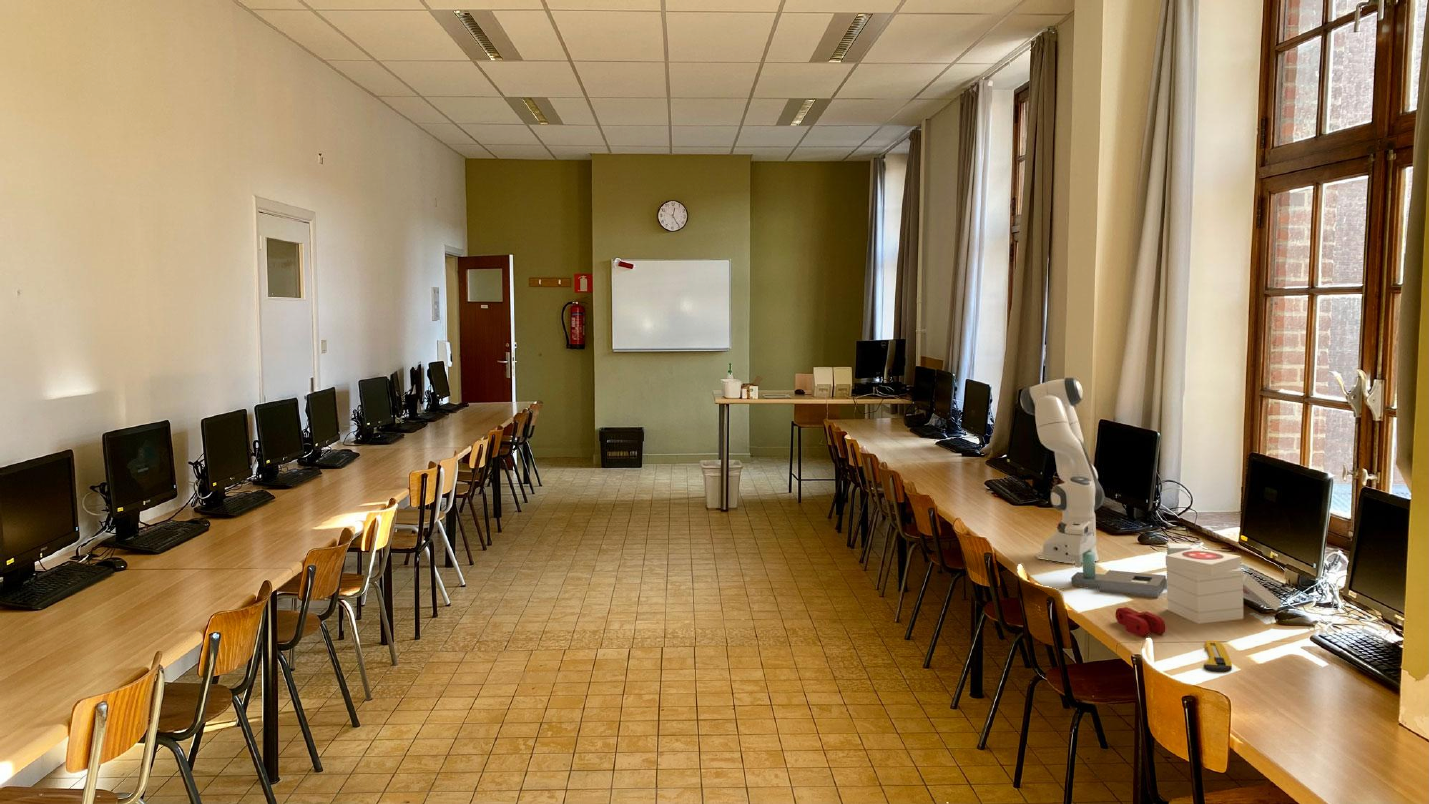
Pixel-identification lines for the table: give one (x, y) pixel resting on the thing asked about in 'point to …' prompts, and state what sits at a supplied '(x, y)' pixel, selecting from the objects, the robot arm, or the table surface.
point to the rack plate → (1123, 583)
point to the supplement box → (1177, 547)
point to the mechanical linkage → (1140, 622)
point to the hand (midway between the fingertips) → (1082, 564)
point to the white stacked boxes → (1211, 586)
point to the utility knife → (1217, 657)
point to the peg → (1089, 565)
